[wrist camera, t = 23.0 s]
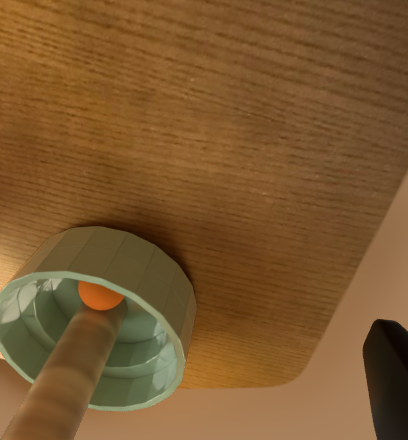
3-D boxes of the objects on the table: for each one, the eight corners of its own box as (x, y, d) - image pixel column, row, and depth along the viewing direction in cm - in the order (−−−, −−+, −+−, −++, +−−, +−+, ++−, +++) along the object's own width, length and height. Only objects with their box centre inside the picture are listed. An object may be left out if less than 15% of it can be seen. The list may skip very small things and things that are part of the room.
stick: (86, 282, 26) (-46, 497, 15) (131, 295, 26) (33, 519, 15) (82, 313, 27) (-39, 527, 16) (124, 326, 27) (31, 547, 16)
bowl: (210, 243, 23) (198, 298, 19) (186, 365, 30) (173, 426, 25) (25, 205, 24) (-27, 251, 19) (40, 333, 30) (3, 389, 26)
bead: (107, 245, 24) (123, 271, 22) (125, 275, 26) (141, 301, 24) (64, 269, 23) (76, 299, 21) (85, 298, 25) (98, 328, 23)
